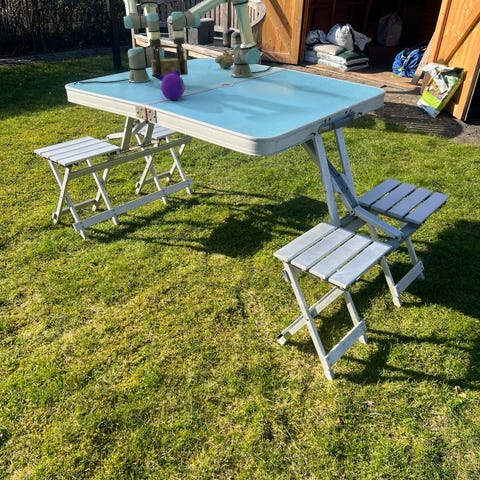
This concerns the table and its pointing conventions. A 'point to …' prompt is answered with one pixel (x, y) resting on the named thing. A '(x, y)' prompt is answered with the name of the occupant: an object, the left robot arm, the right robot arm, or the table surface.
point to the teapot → (225, 59)
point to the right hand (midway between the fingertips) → (181, 72)
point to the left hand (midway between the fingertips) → (158, 74)
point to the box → (169, 66)
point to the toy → (171, 85)
